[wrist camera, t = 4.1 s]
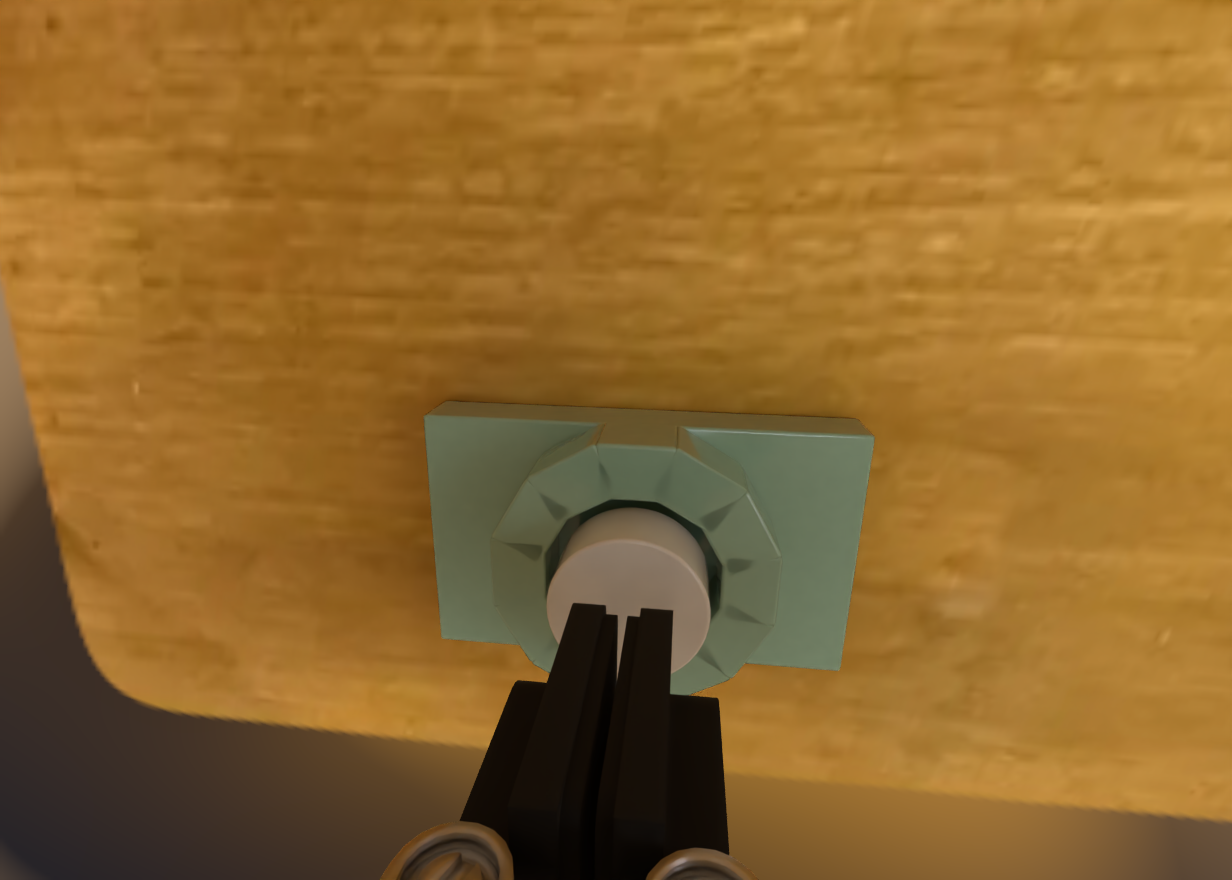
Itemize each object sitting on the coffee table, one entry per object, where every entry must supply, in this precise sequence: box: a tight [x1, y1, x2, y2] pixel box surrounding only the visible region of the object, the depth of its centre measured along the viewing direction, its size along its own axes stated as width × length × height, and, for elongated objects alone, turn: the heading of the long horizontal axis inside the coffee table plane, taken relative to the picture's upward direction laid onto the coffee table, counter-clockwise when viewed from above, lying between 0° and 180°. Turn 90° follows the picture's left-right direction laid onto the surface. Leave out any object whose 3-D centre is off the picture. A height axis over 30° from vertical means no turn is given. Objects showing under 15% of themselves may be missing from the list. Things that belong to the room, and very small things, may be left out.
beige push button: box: [546, 508, 711, 677], centre depth 13 cm, size 3×3×2 cm
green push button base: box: [424, 401, 875, 695], centre depth 15 cm, size 10×6×3 cm, turn 89°
